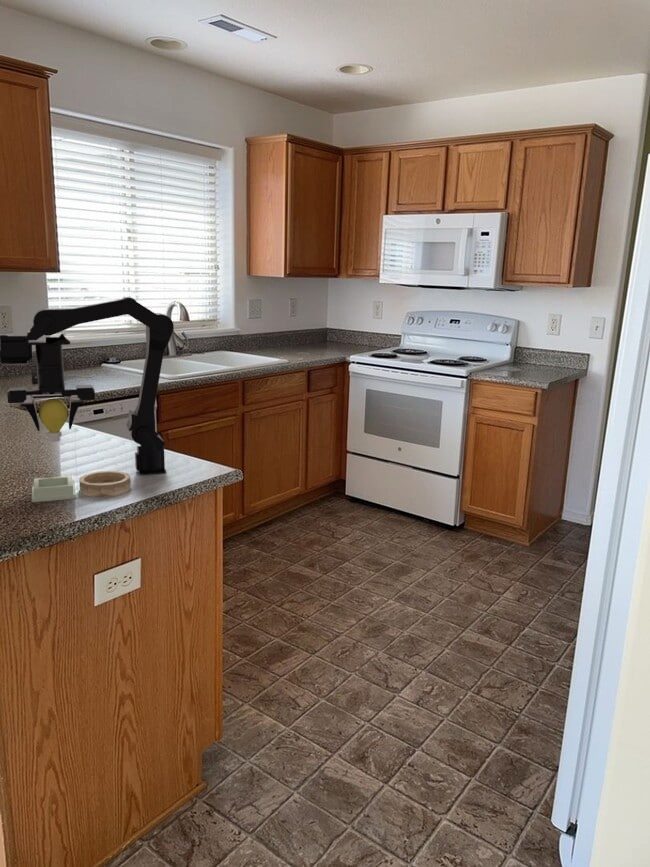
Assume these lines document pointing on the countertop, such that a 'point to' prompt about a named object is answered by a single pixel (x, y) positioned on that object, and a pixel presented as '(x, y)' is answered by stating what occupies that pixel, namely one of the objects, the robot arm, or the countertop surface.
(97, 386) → the countertop surface
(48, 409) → the light bulb
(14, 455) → the countertop surface
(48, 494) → the square socket
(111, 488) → the round cradle
